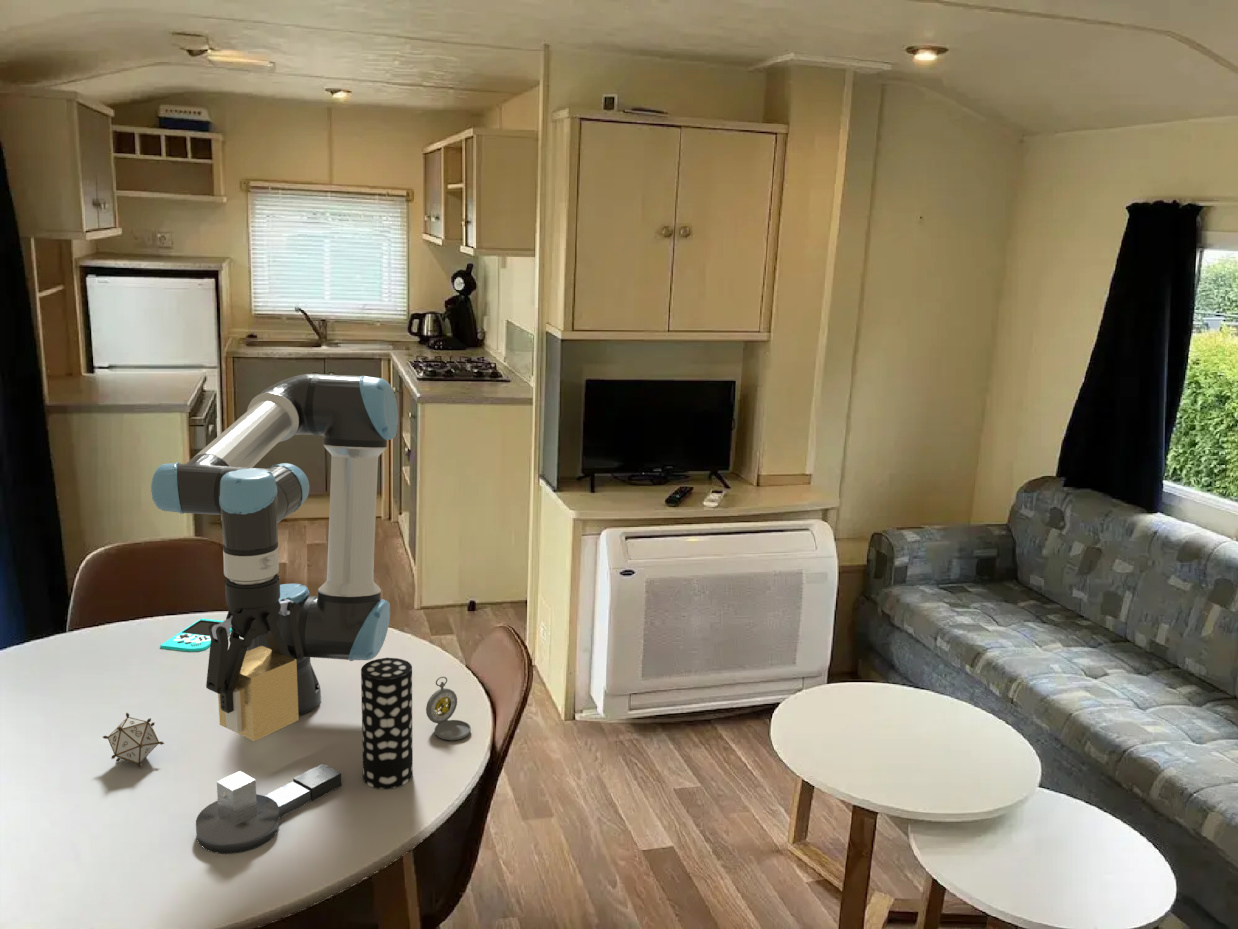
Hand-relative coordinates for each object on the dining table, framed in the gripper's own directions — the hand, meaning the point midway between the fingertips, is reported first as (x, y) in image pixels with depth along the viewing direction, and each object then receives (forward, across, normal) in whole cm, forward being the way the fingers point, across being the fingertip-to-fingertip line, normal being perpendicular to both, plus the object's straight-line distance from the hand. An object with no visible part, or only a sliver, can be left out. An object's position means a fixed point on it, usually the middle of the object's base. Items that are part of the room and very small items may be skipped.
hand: (258, 717), depth 150 cm
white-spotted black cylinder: (+19, +22, -4) cm, 30 cm away
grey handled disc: (+19, +3, +3) cm, 20 cm away
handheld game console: (+20, +38, +71) cm, 83 cm away
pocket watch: (+19, +40, -2) cm, 45 cm away
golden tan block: (+1, 0, 0) cm, 1 cm away
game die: (+19, 0, +34) cm, 39 cm away
